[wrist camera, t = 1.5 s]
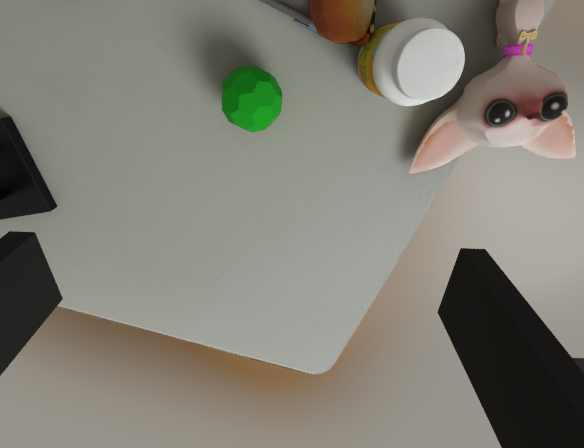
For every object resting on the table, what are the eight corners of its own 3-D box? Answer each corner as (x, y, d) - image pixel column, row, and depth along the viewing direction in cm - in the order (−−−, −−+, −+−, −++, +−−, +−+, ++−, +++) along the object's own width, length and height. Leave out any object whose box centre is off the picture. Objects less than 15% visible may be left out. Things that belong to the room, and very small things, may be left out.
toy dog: (726, -65, 19) (621, 184, 27) (619, -48, 25) (560, 148, 33) (439, -21, 20) (421, 201, 28) (408, -15, 27) (401, 164, 35)
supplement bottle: (364, 18, 28) (399, 4, 19) (429, 29, 28) (492, 20, 19) (350, 90, 30) (374, 106, 21) (410, 99, 30) (458, 119, 22)
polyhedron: (251, 51, 29) (244, 51, 24) (294, 94, 30) (294, 102, 26) (214, 97, 30) (202, 105, 26) (256, 136, 32) (251, 149, 28)
